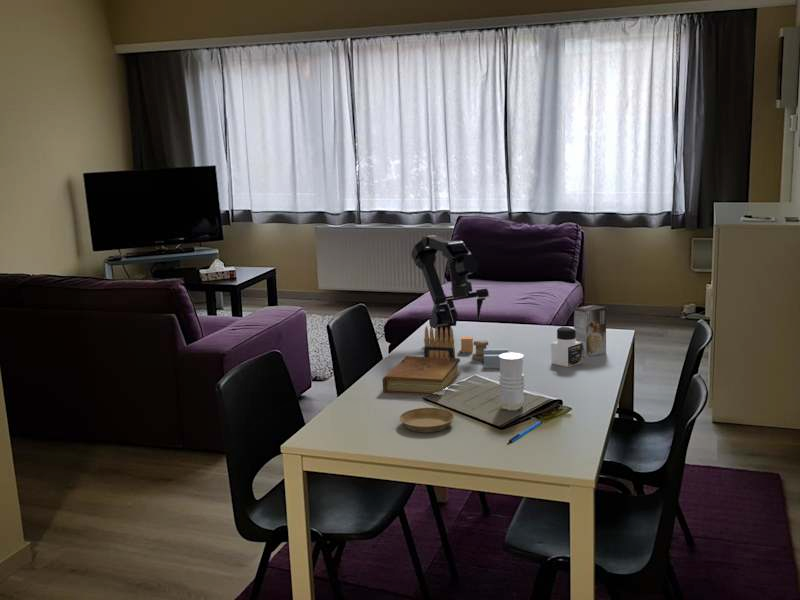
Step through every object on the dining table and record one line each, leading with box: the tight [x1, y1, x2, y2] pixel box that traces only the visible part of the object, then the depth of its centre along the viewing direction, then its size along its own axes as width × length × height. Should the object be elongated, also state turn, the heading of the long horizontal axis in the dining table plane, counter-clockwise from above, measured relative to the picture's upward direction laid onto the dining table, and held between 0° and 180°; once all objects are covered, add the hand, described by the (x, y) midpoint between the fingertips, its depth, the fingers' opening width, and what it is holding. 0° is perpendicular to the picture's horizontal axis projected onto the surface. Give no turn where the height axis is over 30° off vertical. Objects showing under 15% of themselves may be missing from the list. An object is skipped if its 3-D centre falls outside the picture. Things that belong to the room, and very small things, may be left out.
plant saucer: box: [399, 407, 455, 433], centre depth 229 cm, size 15×15×3 cm
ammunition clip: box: [423, 325, 456, 358], centre depth 289 cm, size 11×2×12 cm, turn 70°
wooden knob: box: [471, 339, 489, 361], centre depth 291 cm, size 6×6×6 cm
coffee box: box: [573, 304, 607, 358], centre depth 290 cm, size 9×6×16 cm
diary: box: [382, 355, 461, 396], centre depth 266 cm, size 23×19×6 cm
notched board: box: [483, 348, 509, 369], centre depth 283 cm, size 9×8×4 cm
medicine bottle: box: [550, 326, 583, 368], centre depth 280 cm, size 7×7×12 cm
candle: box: [498, 352, 525, 404], centre depth 239 cm, size 7×7×15 cm
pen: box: [506, 420, 543, 445], centre depth 220 cm, size 1×19×1 cm, turn 143°
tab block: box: [460, 335, 474, 353], centre depth 301 cm, size 4×4×5 cm
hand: (465, 321), depth 296 cm, fingers open, 9 cm apart
